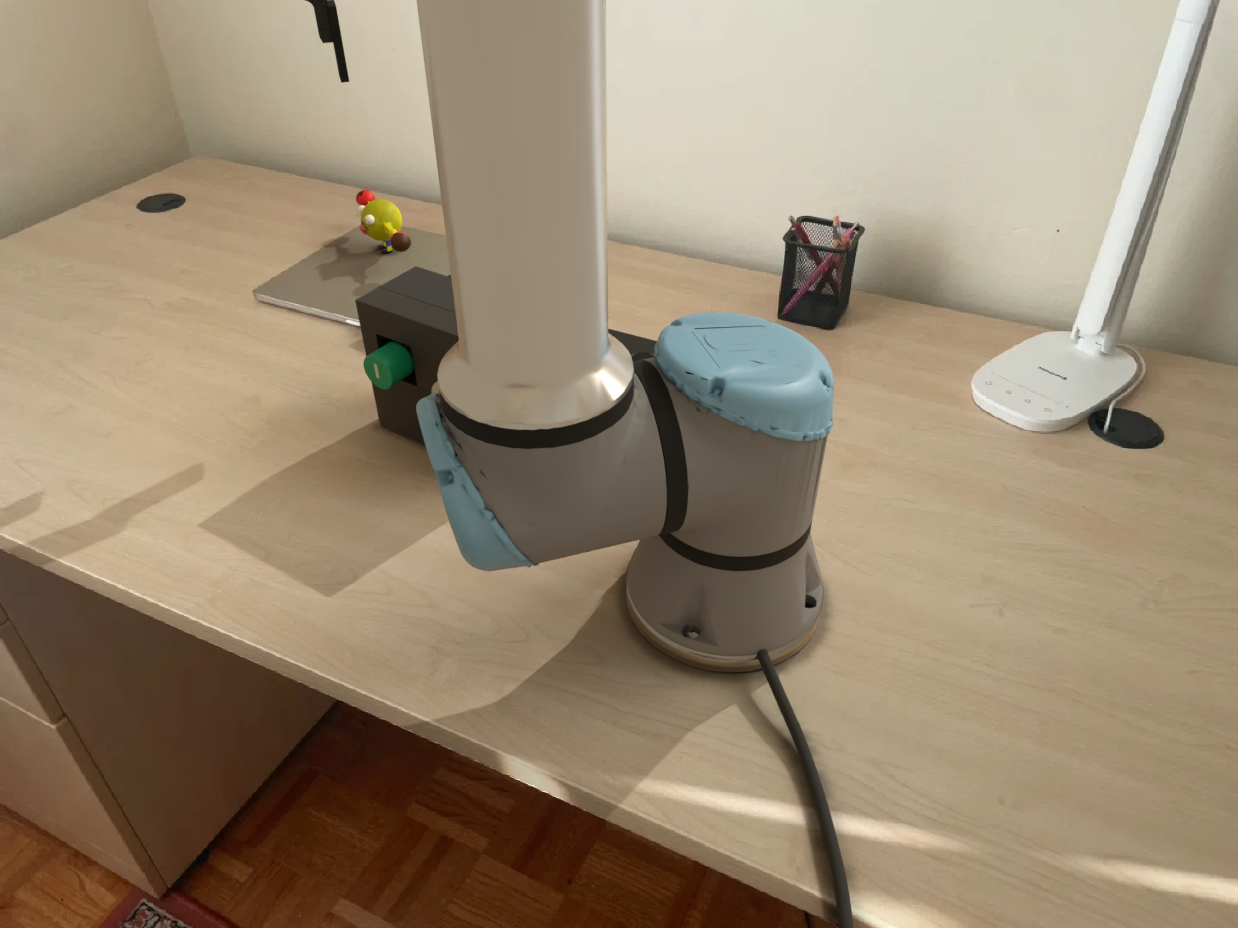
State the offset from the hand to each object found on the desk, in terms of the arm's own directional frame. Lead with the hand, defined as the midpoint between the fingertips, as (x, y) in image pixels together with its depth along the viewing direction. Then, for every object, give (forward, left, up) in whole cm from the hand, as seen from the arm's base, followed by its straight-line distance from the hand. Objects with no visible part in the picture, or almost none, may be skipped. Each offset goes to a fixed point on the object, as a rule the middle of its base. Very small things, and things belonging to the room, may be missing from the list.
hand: (416, 72), depth 88 cm
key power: (-21, +8, -21) cm, 31 cm away
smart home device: (-16, -18, -28) cm, 37 cm away
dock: (-21, +2, -28) cm, 35 cm away
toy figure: (+23, +5, -28) cm, 37 cm away
